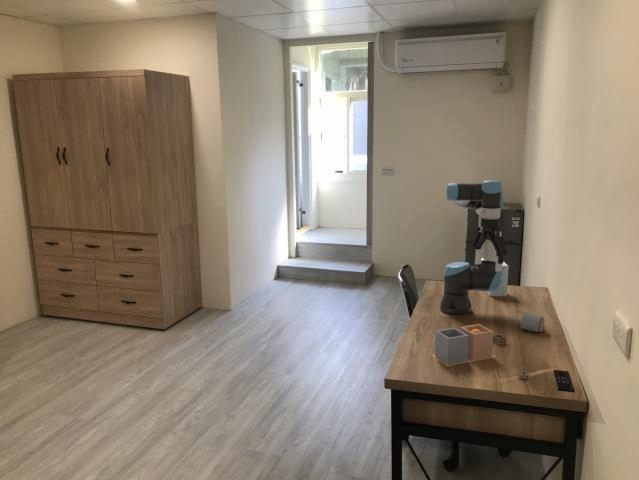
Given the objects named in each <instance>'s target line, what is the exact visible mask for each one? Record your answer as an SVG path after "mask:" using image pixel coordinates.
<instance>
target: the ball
mask: <svg viewBox="0 0 639 480" xmlns="http://www.w3.org/2000/svg"><path fill="white" fill-rule="evenodd" d="M471 332H472V333H474V334H475V333H481V331H480V330H479V329H473V330H471Z"/></svg>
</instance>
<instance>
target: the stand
mask: <svg viewBox="0 0 639 480" xmlns="http://www.w3.org/2000/svg"><path fill="white" fill-rule="evenodd" d="M506 341H507V337H506V336H504V335H502V334H499V333H498V334H493V343H494V344H496V345H498V346H499V345H504V344H506Z"/></svg>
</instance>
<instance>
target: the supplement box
mask: <svg viewBox="0 0 639 480" xmlns="http://www.w3.org/2000/svg"><path fill="white" fill-rule="evenodd" d="M502 268H503V269H502V277H501V282H500V288H499V290H498V291H489V292H488V291H485V292H486V293H487V294H488V296H489V297H507V296H508V279H509V269H510V268H509V265H508V264H507V263H506V262H505V261H503V264H502Z"/></svg>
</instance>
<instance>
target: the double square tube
mask: <svg viewBox="0 0 639 480" xmlns="http://www.w3.org/2000/svg"><path fill="white" fill-rule="evenodd" d="M473 329H479V330H480V331H481V333H475V334H474V333H472V332H471V330H473ZM493 335H494V330H492V329H490V328H488V327H486V326H484V325H482V324H481V323H477V324H472V325H464V326H460V327H459V329H458V328H457V327H451V328H447V329H446V328H445V329H440V330H439V329H438V330H435V335H434V336H435V339H434V340H435V342H434V343H435V345H434V347H435V348H434V354H430V356H431V357H433V358H434V359H436V360H437V361H439V363H441V364H443V365H444V366H445V367H451V366H456V365H462V364H466V363H473V362H479V361H483V360H489V359H495V358H497V356H496V355H494V354H493V346H494V345H493V343H494V342H493Z"/></svg>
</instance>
